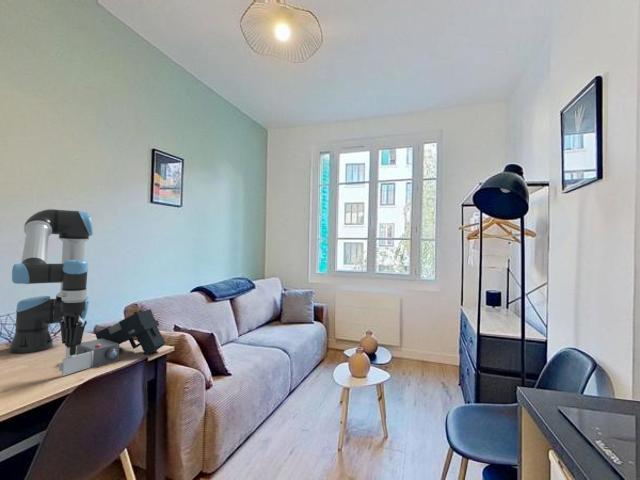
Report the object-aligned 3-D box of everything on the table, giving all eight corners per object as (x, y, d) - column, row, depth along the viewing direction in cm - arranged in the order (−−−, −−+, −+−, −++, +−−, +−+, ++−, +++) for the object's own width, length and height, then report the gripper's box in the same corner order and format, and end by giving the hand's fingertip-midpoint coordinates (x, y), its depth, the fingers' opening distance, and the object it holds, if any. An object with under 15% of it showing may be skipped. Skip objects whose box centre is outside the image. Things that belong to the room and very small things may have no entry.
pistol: (154, 350, 146) (138, 308, 148) (107, 372, 151) (92, 331, 153) (168, 344, 156) (153, 305, 158) (124, 365, 160) (109, 327, 162)
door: (90, 366, 133) (91, 350, 133) (93, 366, 132) (94, 350, 132) (59, 375, 122) (59, 358, 122) (62, 376, 122) (63, 359, 122)
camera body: (75, 360, 139) (76, 341, 139) (101, 354, 148) (102, 336, 148) (95, 368, 131) (96, 348, 131) (121, 361, 140) (122, 342, 140)
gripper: (52, 300, 125) (48, 363, 124) (73, 304, 120) (70, 369, 119) (73, 297, 132) (70, 357, 131) (94, 301, 127) (91, 363, 126)
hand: (70, 363), depth 125 cm, fingers closed
